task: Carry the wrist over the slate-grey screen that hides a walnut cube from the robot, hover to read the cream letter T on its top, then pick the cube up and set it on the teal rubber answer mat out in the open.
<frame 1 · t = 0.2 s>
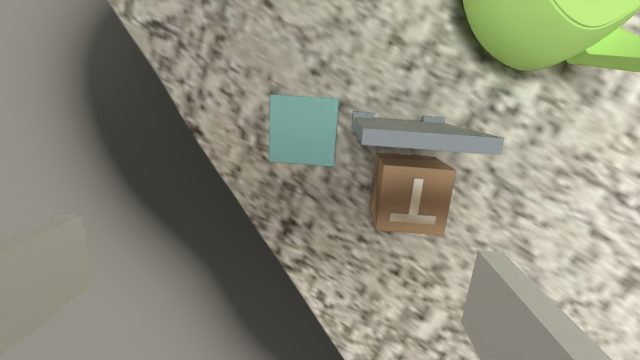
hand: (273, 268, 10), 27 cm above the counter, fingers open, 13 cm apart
screen: (396, 124, 35), on the counter
teapot: (519, 1, 31), on the counter
cube: (401, 182, 37), on the counter
mat: (303, 130, 36), on the counter
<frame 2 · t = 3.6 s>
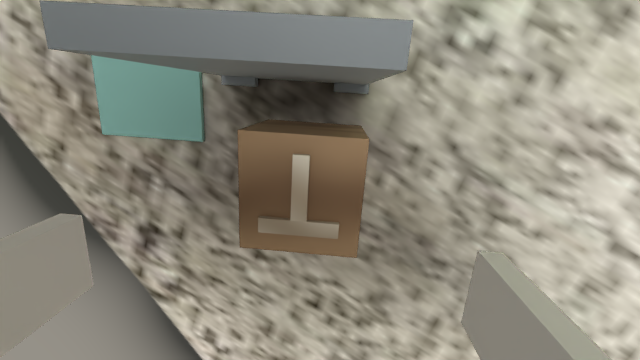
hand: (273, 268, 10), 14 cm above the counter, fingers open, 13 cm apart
screen: (296, 71, 21), on the counter
cube: (311, 167, 23), on the counter
mat: (150, 84, 22), on the counter
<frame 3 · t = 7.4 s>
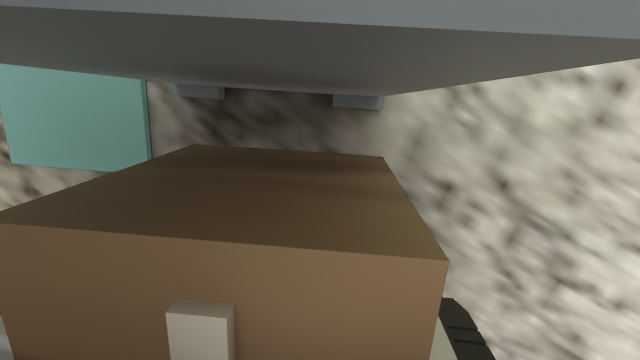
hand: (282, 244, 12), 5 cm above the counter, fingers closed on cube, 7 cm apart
screen: (278, 78, 15), on the counter
cube: (284, 236, 12), point 5 cm above the counter, touching gripper
mat: (74, 94, 16), on the counter
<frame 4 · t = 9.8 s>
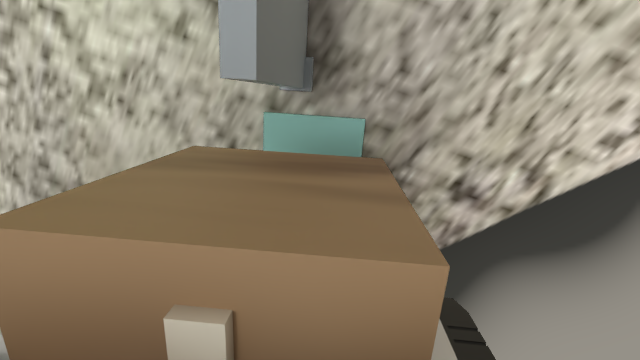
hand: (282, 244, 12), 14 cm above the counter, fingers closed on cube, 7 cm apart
screen: (299, 16, 22), on the counter
cube: (284, 238, 12), point 13 cm above the counter, touching gripper
mat: (311, 164, 25), on the counter
when the fingers open (1 cm above the counter, at t = 12.3 s): cube stays where it is, resting on mat.
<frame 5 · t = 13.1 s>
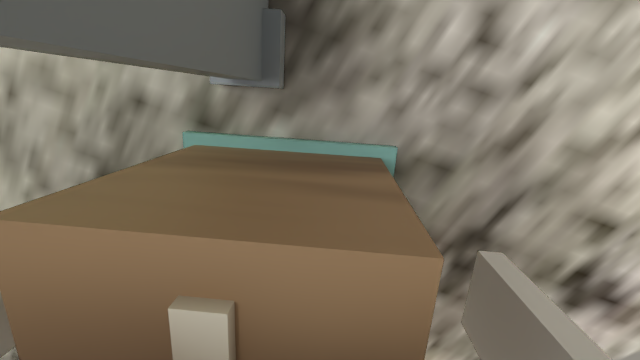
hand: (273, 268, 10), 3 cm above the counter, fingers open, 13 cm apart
cube: (284, 236, 12), resting on mat
mat: (286, 233, 12), on the counter
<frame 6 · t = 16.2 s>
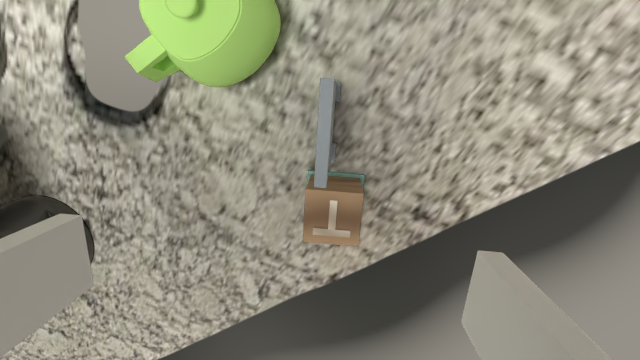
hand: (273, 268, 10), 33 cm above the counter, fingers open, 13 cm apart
screen: (329, 122, 41), on the counter
teapot: (231, 28, 39), on the counter
cube: (333, 199, 43), resting on mat
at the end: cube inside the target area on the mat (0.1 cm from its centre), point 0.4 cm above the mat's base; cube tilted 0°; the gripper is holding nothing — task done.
